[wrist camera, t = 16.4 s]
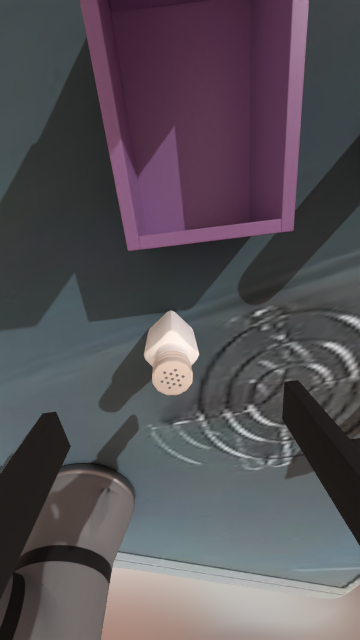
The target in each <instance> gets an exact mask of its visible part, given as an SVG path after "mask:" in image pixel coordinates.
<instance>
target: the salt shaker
mask: <svg viewBox="0 0 360 640" xmlns="http://www.w3.org/2000/svg"><path fill="white" fill-rule="evenodd" d="M198 356H199V351H198V348H197V344H196V340H195V336H194V332H193V329H192V328H191V327H190V326H189V325H188V324H187V323H186V322H185V321H184V320H183V319H182V318H181V317H180V316H179V315H178V314H177V313H175V312H174V311H168V312H166V313H165V314H164V315H163V316H162V317H161V318H160V319H159V320H158V321H157V322H156V323H155V324H154V325H153V326H152V327H151V328H150V329H149V331H148V336H147V341H146V346H145V351H144V357H145V359H146V361H147V362H148V363H149V364H150V365H151V366H152V367H153V372H152V383H153V385H154V386H155V387H156V389H157V390H158V391H159V392H162V393H164V394H166V395H178V394H180V393H182V392H184V391H186V390H187V389H188V388H189V386H190V385H191V384H192V376H193V373H192V367H191V365H192V364H193V363H194V362H195V361H196V360H197V359H198Z"/></svg>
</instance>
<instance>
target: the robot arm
mask: <svg viewBox="0 0 360 640" xmlns="http://www.w3.org/2000/svg"><path fill="white" fill-rule="evenodd" d="M282 419H283V421H284V422H285V424H286V426H287V427H288V429H289V431H290V432H291V434H292V435H293V437H294V439H295V440H296V442H297V444H298V445H299V447H300V449H301V450H302V452H303V453H304V455H305V457H306V458H307V460H308V462H309V463H310V465H311V467H312V468H313V470H314V471H315V473H316V475H317V476H318V478H319V480H320V481H321V483H322V485H323V486H324V488H325V490H326V491H327V493H328V494H329V496H330V498H331V499H332V501H333V503H334V504H335V506H336V508H337V509H338V511H339V512H340V514H341V516H342V517H343V519H344V521H345V522H346V524H347V526H348V527H349V529H350V530H351V532H352V534H353V535H354V537H355V539H356V540H357V542H358V544H359V545H360V438H358V439H349V438H348V437H347V436H346V435H345V433H344V432H343V431H342V430H341V429H340V428H339V427H338V425H337V424H336V423H335V422H334V421H333V420H332V419H331V417H330V416H329V415H328V414H327V413H326V412H325V411H324V409H323V408H322V407H321V406H320V405H319V404H318V403H317V401H316V400H315V399H314V398H313V397H312V396H311V395H310V393H309V392H308V391H307V390H306V389H305V388H304V387H303V385H302V384H301V383H300V382H299V381H298V380H296V381H288V382H285V383H284V399H283V415H282ZM70 447H71V446H70V444H69V441H68V439H67V437H66V434H65V432H64V429H63V427H62V425H61V422H60V420H59V418H58V415H57V413H56V412H51V413H43V414H42V415H41V417H40V418H39V420H38V421H37V423H36V424H35V425H34V427H33V428H32V430H31V431H30V433H29V434H28V435H27V437H26V438H25V440H24V441H23V443H22V444H21V445H20V447H19V448H18V450H17V451H16V453H15V454H14V456H13V457H12V458H11V460H10V461H9V463H8V464H7V466H6V467H5V468H4V470H3V471H2V473H1V474H0V640H101V634H102V628H103V621H104V615H105V609H106V602H107V596H108V590H109V583H110V578H111V572H112V566H113V563H114V560H115V557H116V555H117V552H118V550H119V547H120V545H121V542H122V540H123V537H124V535H125V533H126V530H127V528H128V525H129V523H130V520H131V518H132V514H133V511H134V503H135V491H134V488H133V486H132V485H131V483H130V482H129V481H128V480H127V479H126V478H125V477H124V476H123V475H121V474H120V473H118V472H117V471H115V470H113V469H110V468H107V467H104V466H101V465H95V464H84V463H81V464H71V465H66V466H62V464H63V462H64V460H65V458H66V455H67V453H68V451H69V449H70ZM61 466H62V467H61Z"/></svg>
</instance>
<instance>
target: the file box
mask: <svg viewBox="0 0 360 640" xmlns="http://www.w3.org/2000/svg"><path fill="white" fill-rule="evenodd" d="M80 4H81V9H82V14H83V19H84V25H85V30H86V35H87V40H88V45H89V51H90V56H91V61H92V66H93V72H94V77H95V82H96V87H97V92H98V98H99V103H100V108H101V113H102V118H103V124H104V129H105V134H106V139H107V145H108V150H109V155H110V160H111V165H112V171H113V176H114V181H115V186H116V191H117V197H118V202H119V207H120V212H121V218H122V223H123V228H124V233H125V238H126V244H127V249H128V251H134V250H140V249H141V250H142V249H150V248H158V247H167V246H175V245H183V244H191V243H199V242H207V241H215V240H223V239H232V238H240V237H248V236H256V235H264V234H272V233H280V232H288V231H293V229H294V214H295V200H296V185H297V170H298V155H299V140H300V125H301V110H302V96H303V81H304V66H305V51H306V36H307V21H308V7H309V0H80Z"/></svg>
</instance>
